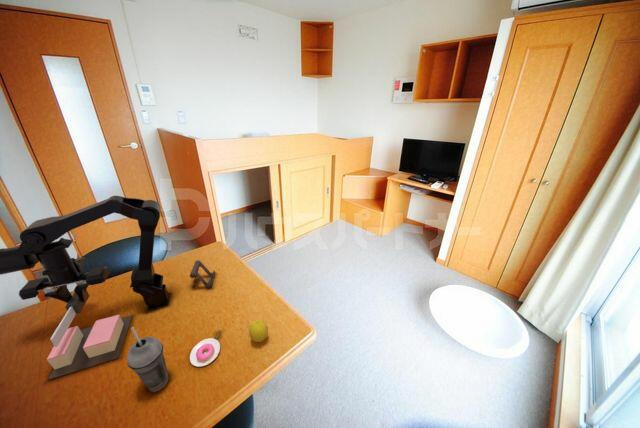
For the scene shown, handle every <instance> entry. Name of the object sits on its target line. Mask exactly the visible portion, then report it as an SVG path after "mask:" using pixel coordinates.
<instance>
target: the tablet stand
mask: <svg viewBox="0 0 640 428" xmlns="http://www.w3.org/2000/svg"><path fill="white" fill-rule="evenodd" d="M200 268H201V269H202V270H203V271H204V272H205V273H206V274H207V276H209V279H208V282H207V281H206V280H205V279H204V278H203V277H202V276H201V274H200V273H198V272H199V269H200ZM215 275H216V271H215V270H213V272H211V271H209V269H208V268H207V267H206V266H205V265H204V263H202V261H201V260H199V259H197V260H195V261H194V264H193V266H192V269H191V271H190V273H189V278H191V279H194V280H193V283H192V286H191V287H192V288H194V285H195V282H196V280H197V279H198V280H199V281H200V282H201V283H202V284H203V286H205V288H207V289H212V288H213V283H214V280H215Z"/></svg>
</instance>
